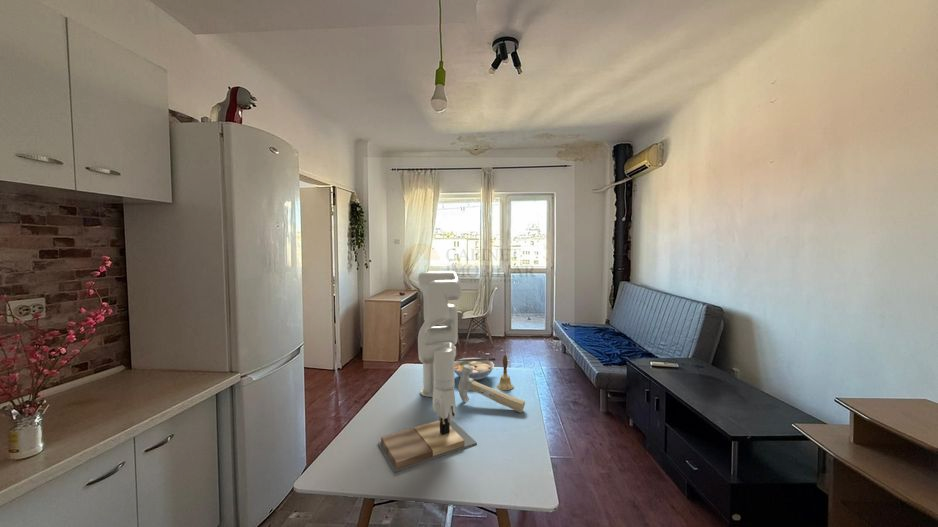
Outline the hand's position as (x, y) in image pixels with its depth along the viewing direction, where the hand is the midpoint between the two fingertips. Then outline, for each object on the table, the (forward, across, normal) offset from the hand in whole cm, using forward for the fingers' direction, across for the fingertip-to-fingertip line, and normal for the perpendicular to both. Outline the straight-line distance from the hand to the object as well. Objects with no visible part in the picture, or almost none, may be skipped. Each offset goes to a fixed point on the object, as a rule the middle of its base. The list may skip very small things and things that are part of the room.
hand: (444, 432), depth 125 cm
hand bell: (+2, -27, +47) cm, 54 cm away
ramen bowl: (+2, -45, +39) cm, 59 cm away
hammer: (+3, -14, +29) cm, 32 cm away
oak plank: (+2, -1, -2) cm, 3 cm away
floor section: (+3, -1, -6) cm, 7 cm away
